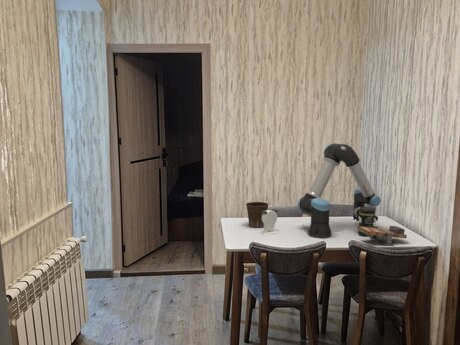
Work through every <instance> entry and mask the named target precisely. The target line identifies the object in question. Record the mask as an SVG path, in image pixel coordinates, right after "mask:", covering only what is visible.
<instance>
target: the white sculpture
mask: <svg viewBox="0 0 460 345" xmlns="http://www.w3.org/2000/svg"><path fill="white" fill-rule="evenodd" d="M278 211H279V210H277V209H276V208H275V209H274V208H272V210H270V209H268V210H266V211H262V222H263V226H264V227H263V229H262V230H260V233H261V234H265V235H276V234H278V230H276V229H275V224H276V223H277V221H278V213H279V212H278Z"/></svg>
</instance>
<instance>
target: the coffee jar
mask: <svg viewBox="0 0 460 345" xmlns="http://www.w3.org/2000/svg"><path fill="white" fill-rule="evenodd" d="M375 211H376V210H375V207H373V206H369V207H367V206H365V207H360V210H359V215H360V218H361V223H360V222H359V221H358V222H359V223H358V227H370V228H372V227H374V222H373V218H374V215H375V214H376V212H375ZM375 216H376V215H375ZM357 234H358V235H359V236H362V237H372V235H367V234H365V233H363V232H361V231H359V230H358V229H357Z"/></svg>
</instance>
